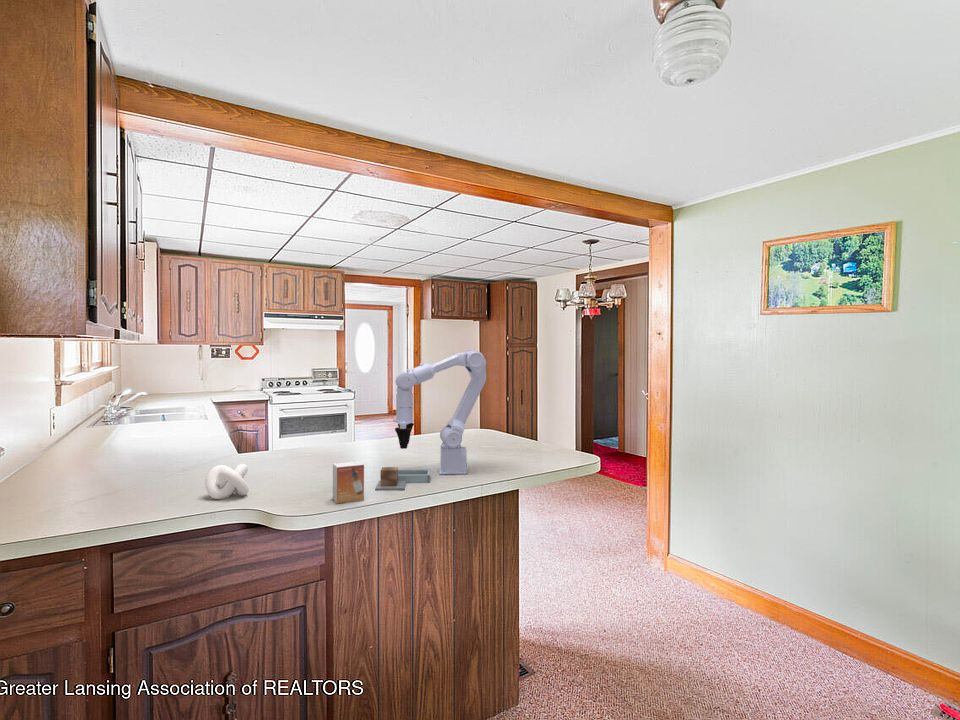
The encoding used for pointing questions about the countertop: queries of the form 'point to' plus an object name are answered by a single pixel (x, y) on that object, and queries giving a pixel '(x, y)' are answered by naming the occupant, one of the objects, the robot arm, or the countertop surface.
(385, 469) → the block
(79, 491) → the countertop surface
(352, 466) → the small box
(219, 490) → the white knot sculpture
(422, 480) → the u-shaped bracket
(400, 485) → the coaster
